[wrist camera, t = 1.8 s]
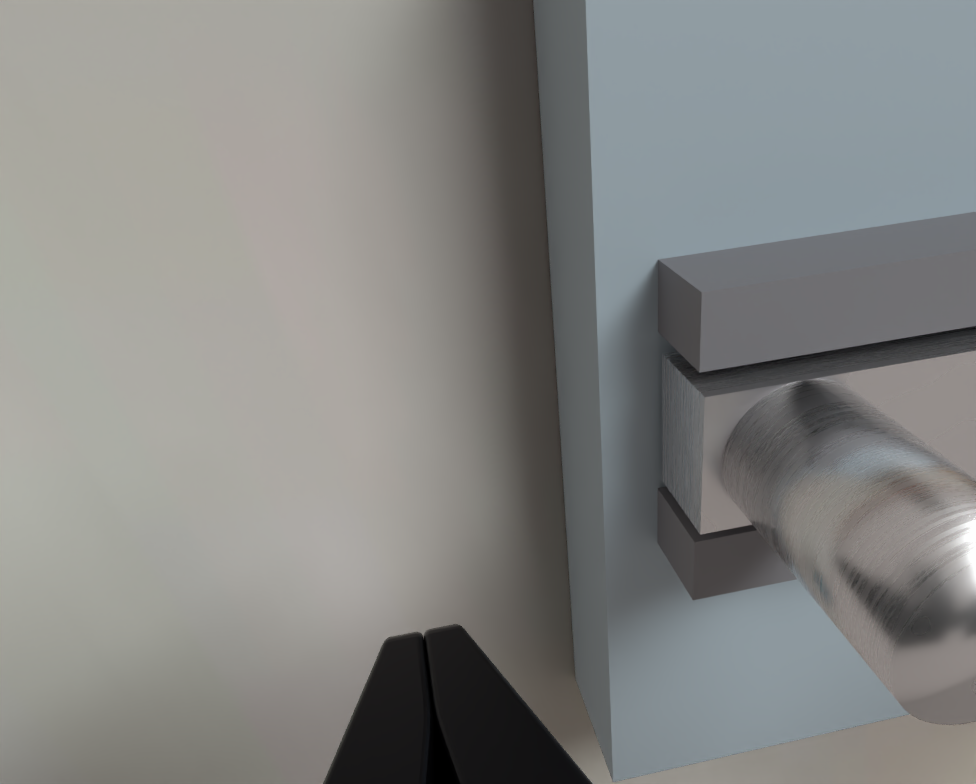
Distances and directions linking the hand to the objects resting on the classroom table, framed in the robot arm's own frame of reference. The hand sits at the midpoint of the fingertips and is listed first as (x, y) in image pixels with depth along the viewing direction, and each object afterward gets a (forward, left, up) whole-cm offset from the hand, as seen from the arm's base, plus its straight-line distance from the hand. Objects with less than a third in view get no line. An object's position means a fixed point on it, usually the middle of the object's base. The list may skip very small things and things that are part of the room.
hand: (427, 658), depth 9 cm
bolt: (-8, 0, -4) cm, 9 cm away
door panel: (-8, 0, -8) cm, 11 cm away
